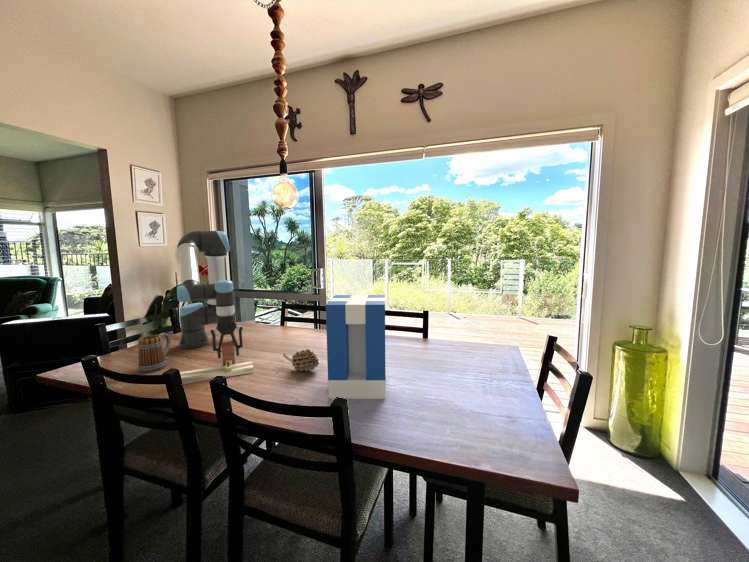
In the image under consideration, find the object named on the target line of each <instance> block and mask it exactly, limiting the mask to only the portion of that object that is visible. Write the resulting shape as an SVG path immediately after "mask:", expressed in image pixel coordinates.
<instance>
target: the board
mask: <svg viewBox="0 0 749 562" xmlns="http://www.w3.org/2000/svg"><path fill="white" fill-rule="evenodd" d="M179 372H180V374H181V378H182V381H183V384H182V385H187V384H192V383H197V382H198V383H199V382H204V381H205V382H206V381H210V380H213V379H212V378H214V377H216V376H225V377H224V378H229V377H234V376H240V375H246V374H247V375H248V374H252V373H254V363H253V361H245V362H237V364H232V371H228V372H225V366H221V365H220V366H219V365H218V366H213V367H212V366H211V367H206V368H200V369H193V370H192V369H191V370H186V371H179Z"/></svg>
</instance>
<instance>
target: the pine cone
mask: <svg viewBox="0 0 749 562" xmlns="http://www.w3.org/2000/svg"><path fill="white" fill-rule="evenodd" d="M282 355H283V358H285V359H286V360H288V361H289V362H291V364H292V367H293V368H294V370H296V371H298V370H299V371H300V372H304V371H305V372H308V371H314V370H315V368H317V367H318V366H319V365H320V363H319V361H320V360H319V358H318V357H317V356H318V354H316V353H314V350H313V351H311V349H309V348H307V349H306V350H305V349H303V350H301V351H296V353H295V354H293V355H292V357H290V356H288V355H287V353H285V352H283V353H282Z"/></svg>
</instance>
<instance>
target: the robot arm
mask: <svg viewBox="0 0 749 562" xmlns="http://www.w3.org/2000/svg"><path fill="white" fill-rule="evenodd" d="M176 246H177V247H176V251H177V254H178V255H179V260H180V261H179V263H180V278H181V279H180V281H181V285H177V287H176V296H177V301H178V302H179V303H190V302H194V303H190V304H186V305H183V306H181V307H180V308H179V318H180V319H179V321H180V332H181V333H180V336H179V339H178V340H179V341H178V348H179V349H184V350H185V349H188V350H189V349H196V348H200V347H201V348H202V347H204V346H206V345H208V344H209V343H210V338H209V336H208V333H207V332H206V327H205V326H209V325H216V327H215V328H210V334H211V340H212V351H213V352H217V358H218V359H220V362H221V363H220V364H221V365H220V366H223V357H222V341H224V336H227V335H230V338H231V340H233V342H234V354H235V364H238V358H237V357H238V356H240V349H241V348H243V347H244V346H243V333H242V332H243V328H244V327H243V325H238V324H237V323H236V314H235V313H236V310H235V297H234V295H235V293H234V283H233V281H232V280H229V279H228V280H227V279H226V267H225V266H226V265H225V264H226V263H225V259H226V257H227V255H228V253H229V252H230V250H231V249H230V243H229V238H228V235H227V233H226V232H225V231H222V230H192V231H189V232H187V233H186V234H184V235H183V236H182V237H181V238H180V239H179V241H178V242H177V245H176ZM199 253H203V256H204V257H205V258H206V260H207V272H208V273H207V275H208V283H204V284H203V283H202V284H201V280H200V272H199V271H200V270H199V269H200V268H199V263H198V254H199ZM199 301H207V302H206V304H204V303H203V302H199ZM236 329H237V332H238V338H239V339H238V340H239V343H238V340H237V338H236V336H235V333H234V332H235V330H236ZM217 331H218V333H220V338H219V341H218V346H217V338H216V337H217V335H216V333H217Z"/></svg>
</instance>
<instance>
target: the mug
mask: <svg viewBox="0 0 749 562" xmlns="http://www.w3.org/2000/svg"><path fill="white" fill-rule="evenodd" d="M163 337H165V339H166V340H165V341H166V343H165V347H163V344H164V341H163ZM170 347H171V336H170V334H169V333H167V332H162V333H159V334H150V335H145V336H141V337H139V338H138V343H137V348H138V364H137V365H138V367H137V369H138V372H140V373H142V374H148V373H154V372H158V371H161V370H163V369H164V368H165V367H166V366H167V362H168V361H169V357H168V356H167V354H168V352H169V350H170Z"/></svg>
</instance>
